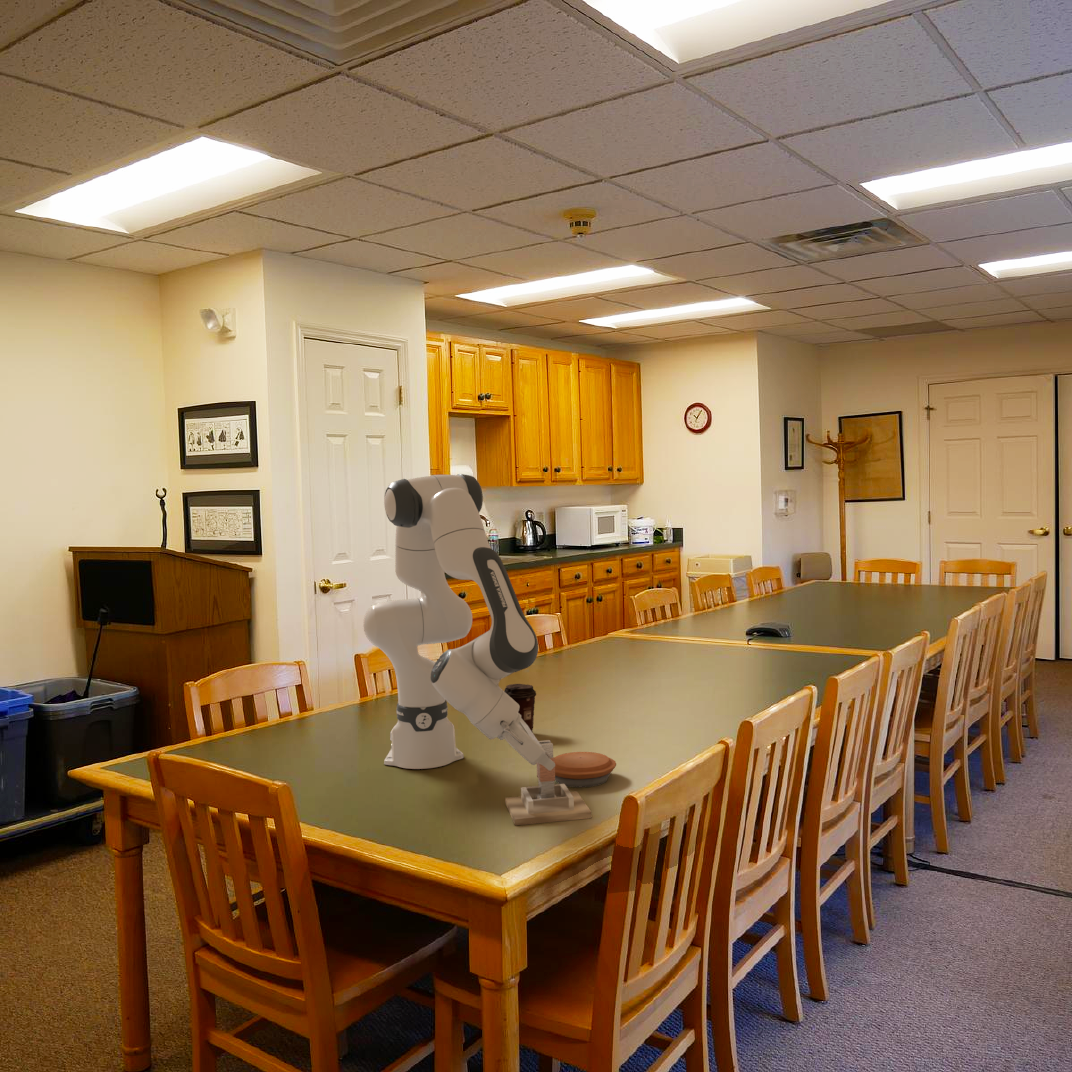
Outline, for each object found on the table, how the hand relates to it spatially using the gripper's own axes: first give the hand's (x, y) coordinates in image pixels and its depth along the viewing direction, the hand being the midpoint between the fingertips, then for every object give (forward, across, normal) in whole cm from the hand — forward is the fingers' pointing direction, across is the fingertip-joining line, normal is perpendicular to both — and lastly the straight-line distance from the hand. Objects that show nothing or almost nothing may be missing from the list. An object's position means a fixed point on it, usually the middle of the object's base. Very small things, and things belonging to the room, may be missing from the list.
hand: (548, 761), depth 189 cm
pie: (+15, +18, 0) cm, 23 cm away
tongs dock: (+6, 0, +7) cm, 10 cm away
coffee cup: (+10, +59, +5) cm, 60 cm away
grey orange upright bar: (+6, 0, +7) cm, 9 cm away
